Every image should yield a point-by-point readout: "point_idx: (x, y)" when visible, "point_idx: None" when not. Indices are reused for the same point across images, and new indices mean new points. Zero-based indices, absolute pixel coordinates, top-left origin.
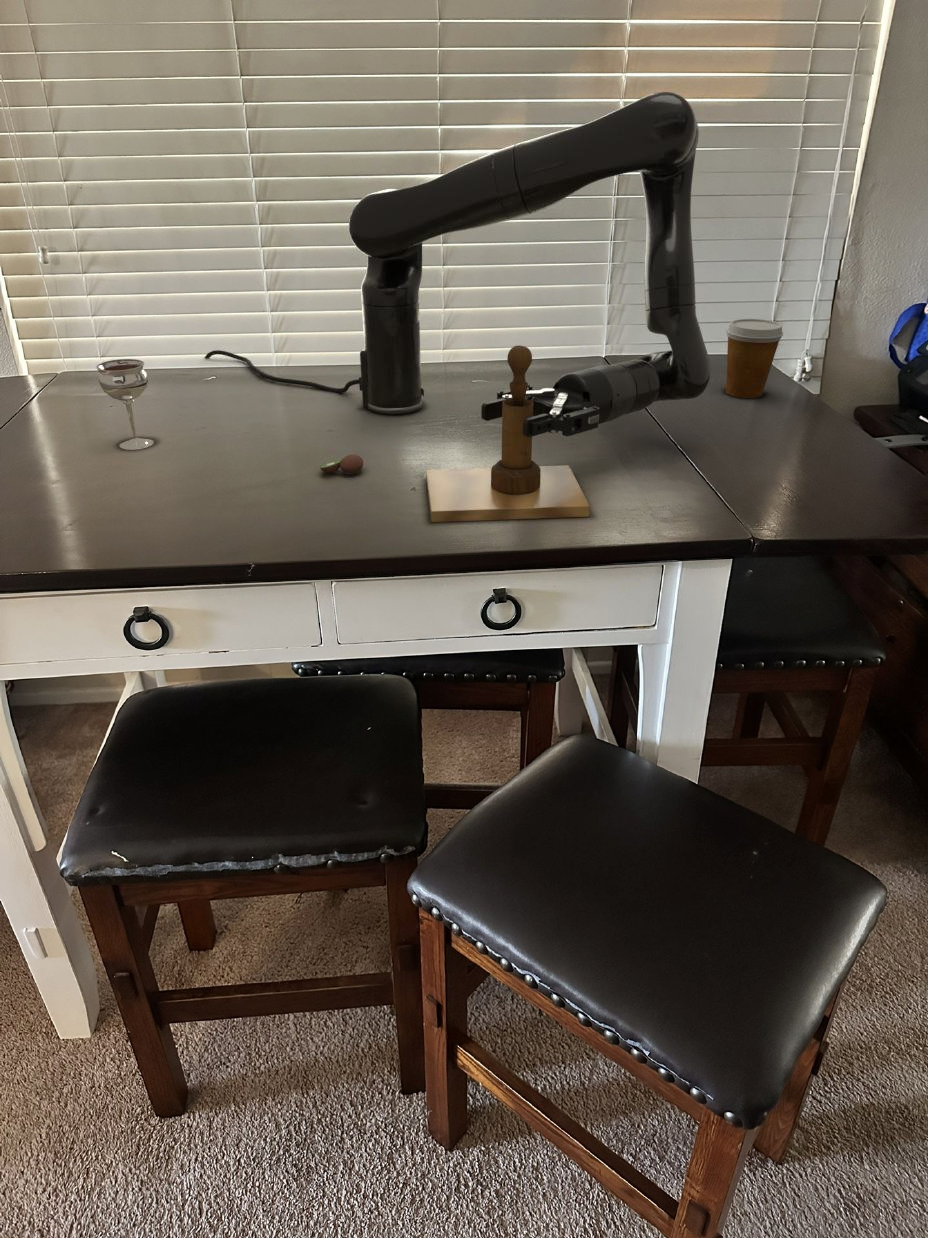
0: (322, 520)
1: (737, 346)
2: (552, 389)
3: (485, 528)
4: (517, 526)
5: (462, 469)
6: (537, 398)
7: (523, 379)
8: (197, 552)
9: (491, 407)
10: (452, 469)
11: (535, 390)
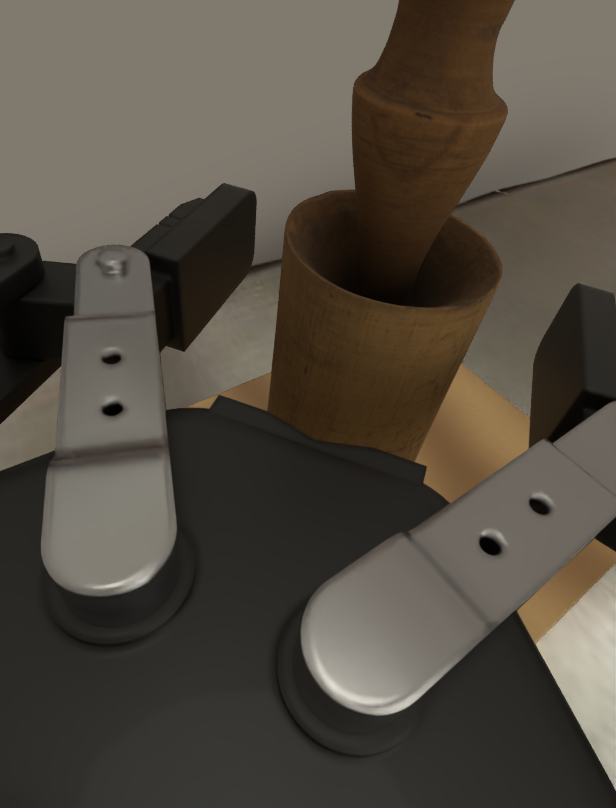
0: (567, 289)
1: None
2: (344, 660)
3: (271, 355)
4: (200, 387)
5: (575, 584)
6: (410, 506)
7: (391, 33)
8: (584, 196)
9: (567, 326)
10: (600, 565)
11: (533, 583)
